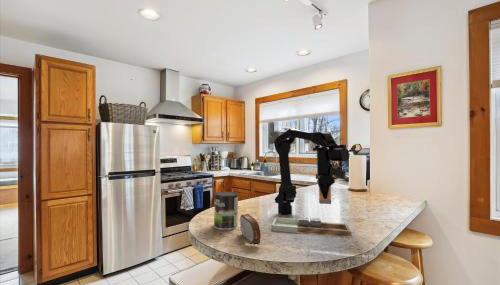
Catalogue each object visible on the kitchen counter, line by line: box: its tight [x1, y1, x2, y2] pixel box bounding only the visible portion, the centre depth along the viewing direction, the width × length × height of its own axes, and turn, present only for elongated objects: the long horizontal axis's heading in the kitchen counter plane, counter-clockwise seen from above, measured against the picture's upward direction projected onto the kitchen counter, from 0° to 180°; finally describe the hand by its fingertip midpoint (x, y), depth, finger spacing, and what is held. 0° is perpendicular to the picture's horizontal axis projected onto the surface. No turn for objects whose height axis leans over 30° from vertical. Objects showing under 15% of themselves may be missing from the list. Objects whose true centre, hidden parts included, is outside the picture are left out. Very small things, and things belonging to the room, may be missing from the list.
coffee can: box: [213, 191, 239, 231], centre depth 101 cm, size 10×10×14 cm
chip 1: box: [298, 216, 310, 227], centre depth 97 cm, size 4×4×4 cm
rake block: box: [318, 185, 332, 205], centre depth 100 cm, size 5×5×8 cm
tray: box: [270, 216, 299, 234], centre depth 99 cm, size 10×12×3 cm
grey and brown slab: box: [239, 213, 261, 245], centre depth 87 cm, size 15×3×8 cm, turn 21°
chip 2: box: [309, 217, 322, 228], centre depth 96 cm, size 4×4×4 cm
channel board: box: [297, 219, 352, 238], centre depth 95 cm, size 20×12×2 cm, turn 77°
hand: (324, 197), depth 100 cm, fingers closed on rake block, 4 cm apart
